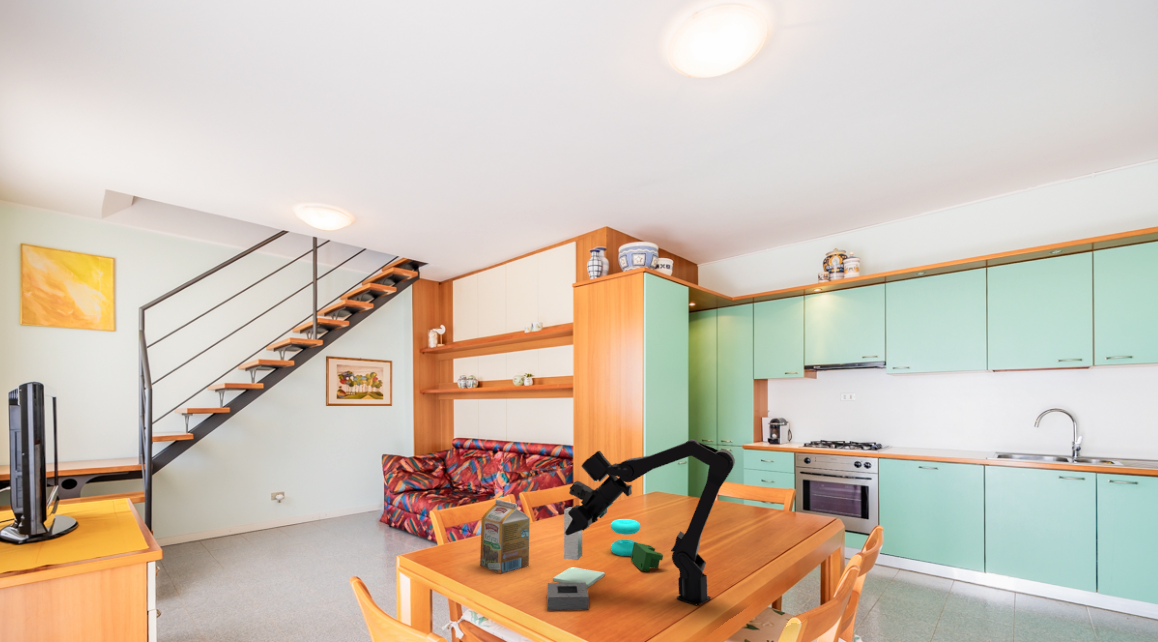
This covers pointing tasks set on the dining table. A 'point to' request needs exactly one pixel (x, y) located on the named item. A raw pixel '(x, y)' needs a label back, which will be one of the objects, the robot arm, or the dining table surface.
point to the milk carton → (504, 538)
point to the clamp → (645, 556)
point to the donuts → (624, 528)
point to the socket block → (567, 596)
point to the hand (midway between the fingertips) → (568, 532)
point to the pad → (579, 576)
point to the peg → (571, 540)
